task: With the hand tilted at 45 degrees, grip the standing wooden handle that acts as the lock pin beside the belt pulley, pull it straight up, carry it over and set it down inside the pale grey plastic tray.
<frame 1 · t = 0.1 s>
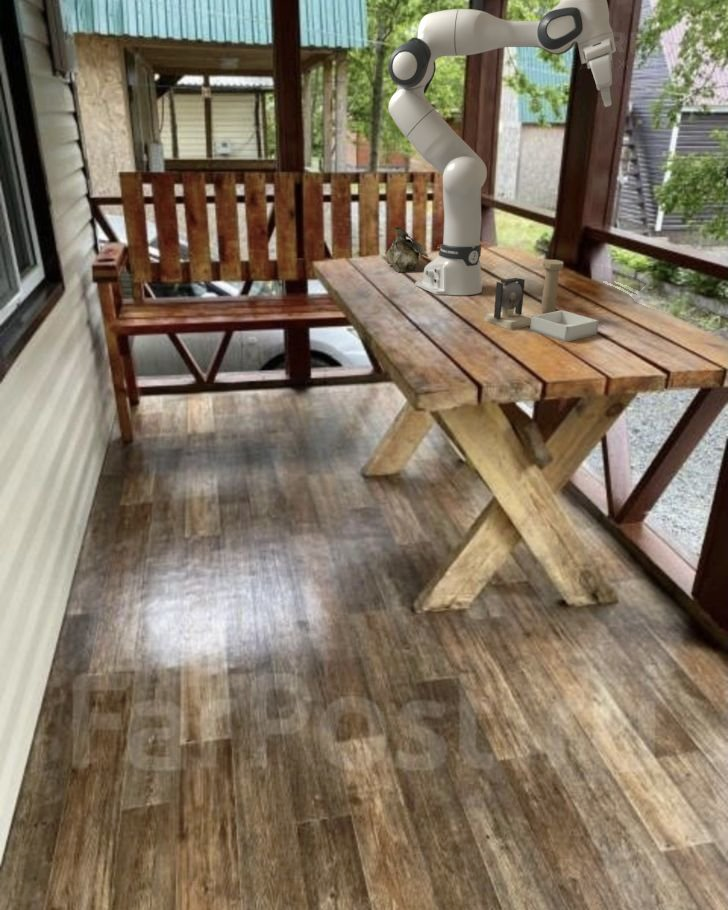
hand: (608, 106, 197), 52 cm above the table, tool tilted 20°, fingers open, 8 cm apart
tray: (563, 332, 187), on the table
pulley block: (507, 323, 195), on the table
handle: (547, 318, 200), on the table
hollow geode rock: (406, 266, 264), on the table
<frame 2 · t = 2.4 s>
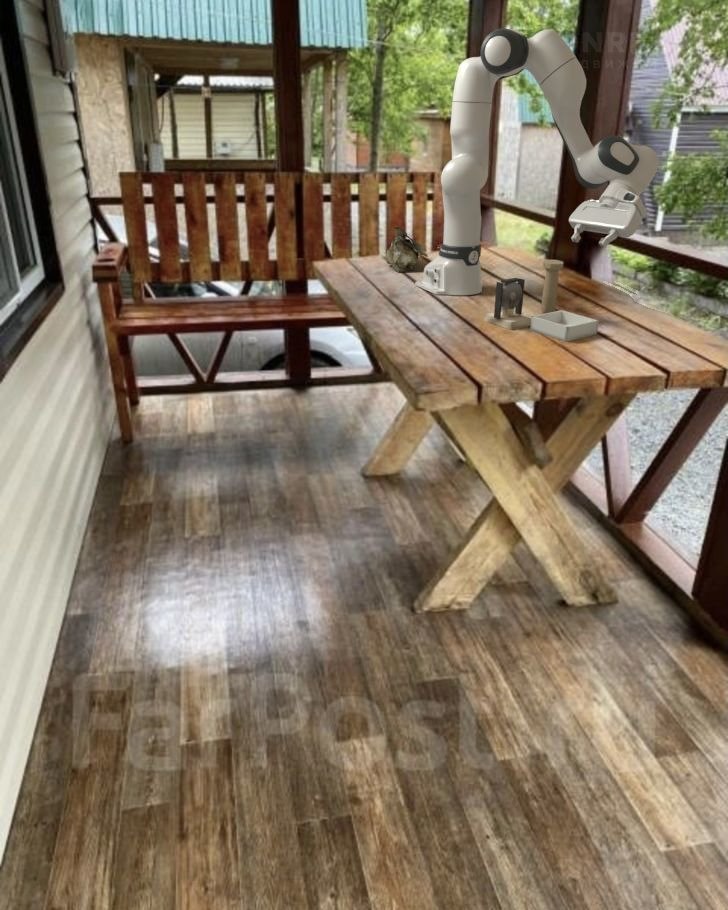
hand: (587, 243, 198), 19 cm above the table, tool tilted 45°, fingers open, 8 cm apart
nothing on the table moved.
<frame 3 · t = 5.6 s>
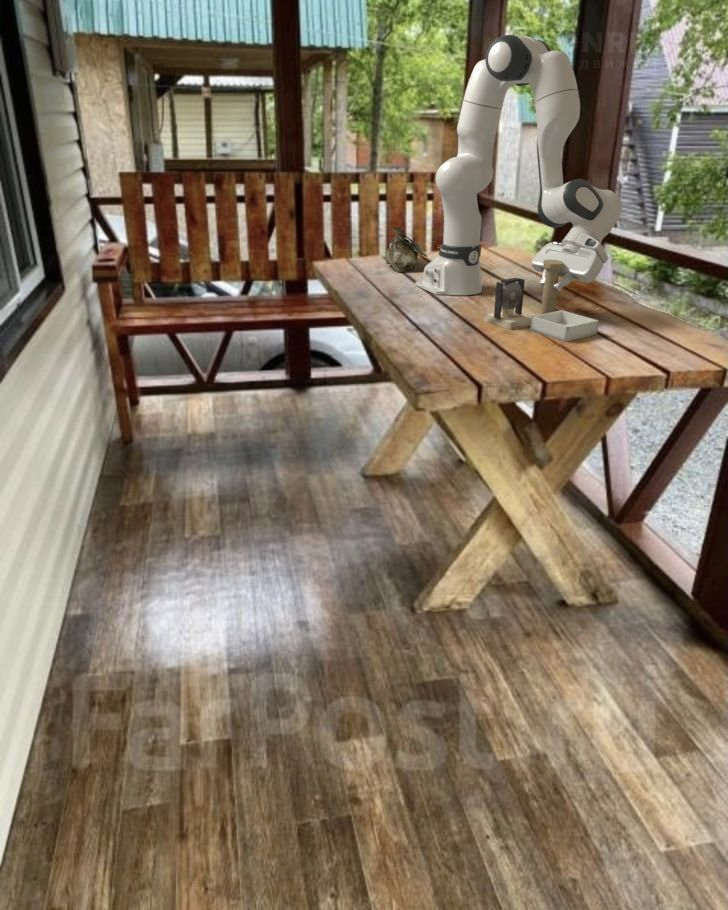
hand: (549, 287, 196), 8 cm above the table, tool tilted 45°, fingers closed on handle, 3 cm apart
handle: (547, 318, 200), on the table, touching gripper
everything else where it was.
when the fingers open (10 cm above the table, at t = 11.3 s): handle stays where it is, resting on tray.
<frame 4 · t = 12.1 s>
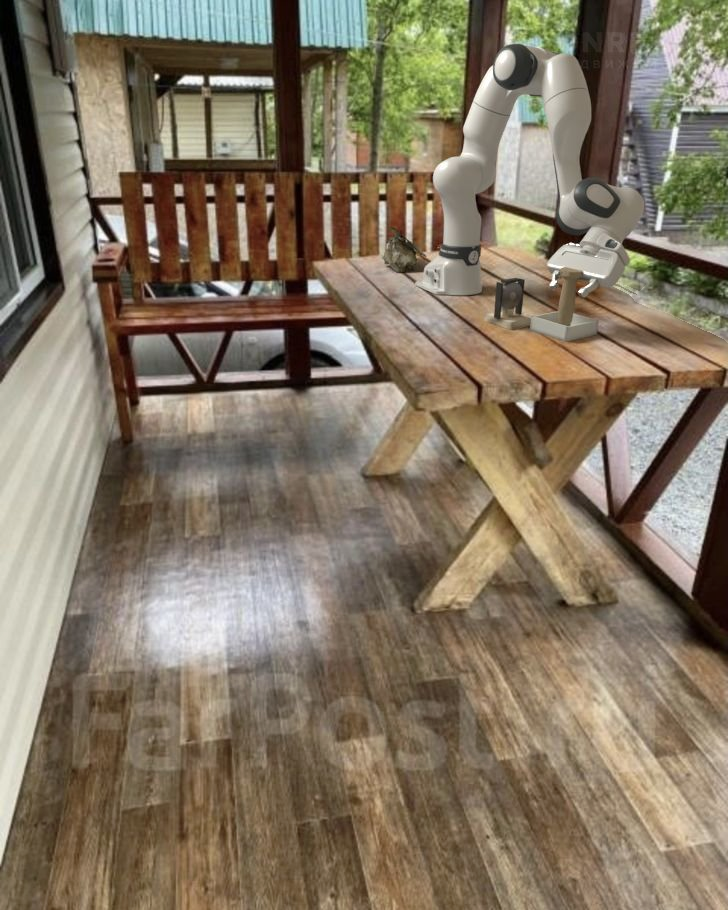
hand: (566, 291, 182), 10 cm above the table, tool tilted 45°, fingers open, 8 cm apart
handle: (563, 329, 188), resting on tray
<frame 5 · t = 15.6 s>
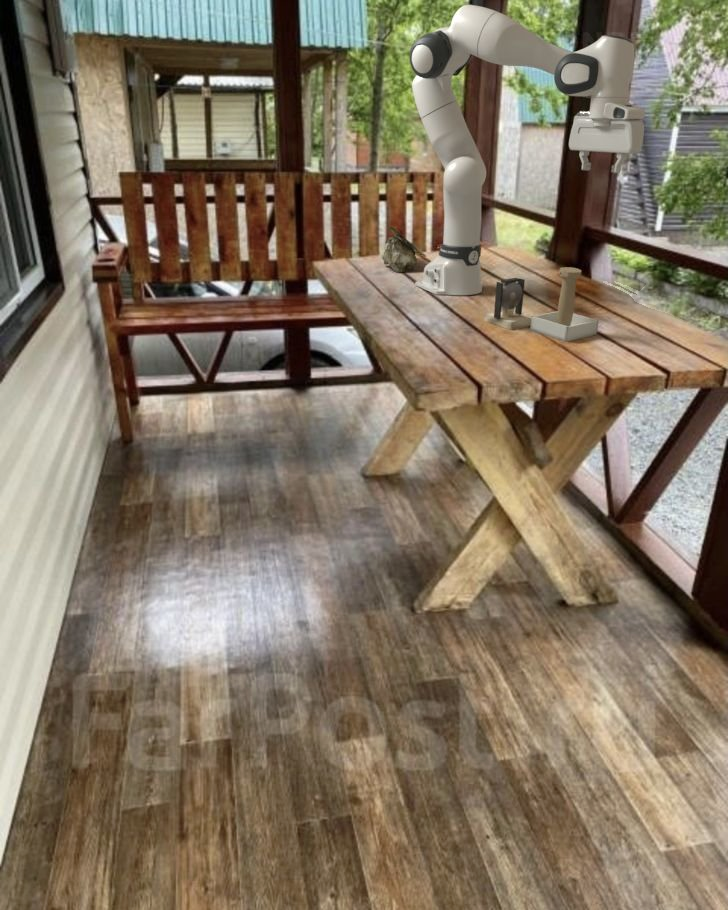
hand: (600, 171, 185), 37 cm above the table, tool pointing down, fingers open, 8 cm apart
at the end: handle inside the target area on the tray (0.6 cm from its centre), point 0.4 cm above the tray's base; the gripper is holding nothing; handle moved 13.3 cm from its start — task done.
